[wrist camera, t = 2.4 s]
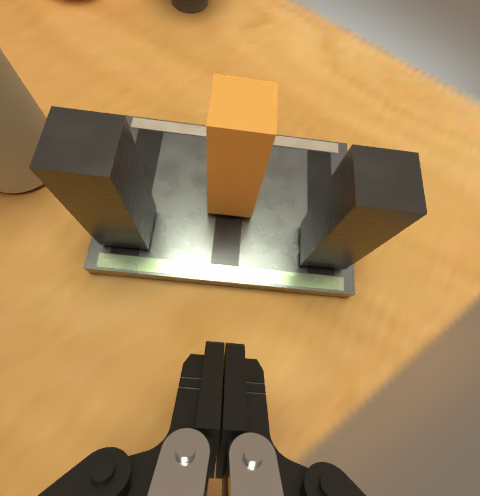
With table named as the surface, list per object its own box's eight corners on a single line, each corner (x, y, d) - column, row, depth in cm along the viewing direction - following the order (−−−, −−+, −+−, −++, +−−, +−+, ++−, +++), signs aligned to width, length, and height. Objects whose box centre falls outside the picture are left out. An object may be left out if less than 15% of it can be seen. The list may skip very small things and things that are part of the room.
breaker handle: (207, 212, 28) (206, 125, 18) (211, 174, 29) (213, 73, 19) (251, 217, 28) (276, 134, 18) (254, 179, 30) (278, 82, 19)
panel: (90, 273, 27) (-6, 200, 15) (127, 125, 33) (79, -14, 21) (347, 297, 29) (450, 249, 16) (341, 152, 34) (414, 36, 22)
